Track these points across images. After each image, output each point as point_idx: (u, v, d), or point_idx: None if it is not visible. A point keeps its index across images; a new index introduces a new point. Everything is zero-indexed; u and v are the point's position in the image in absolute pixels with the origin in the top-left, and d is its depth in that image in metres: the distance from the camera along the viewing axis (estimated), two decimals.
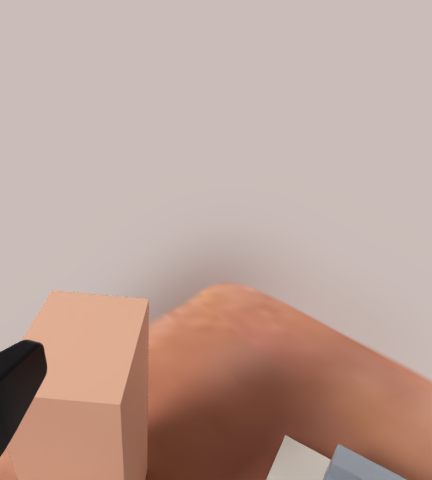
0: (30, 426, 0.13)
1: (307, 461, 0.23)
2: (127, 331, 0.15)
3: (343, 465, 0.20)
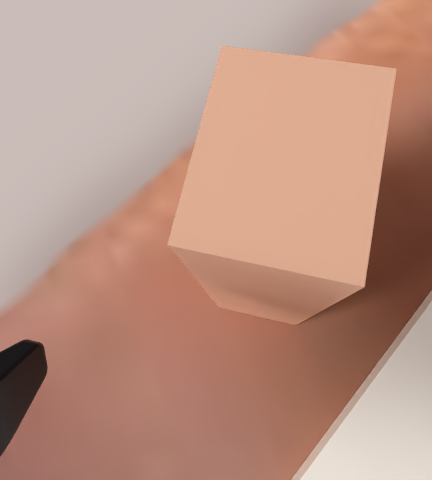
0: (220, 269, 0.10)
1: None
2: (363, 141, 0.08)
3: None
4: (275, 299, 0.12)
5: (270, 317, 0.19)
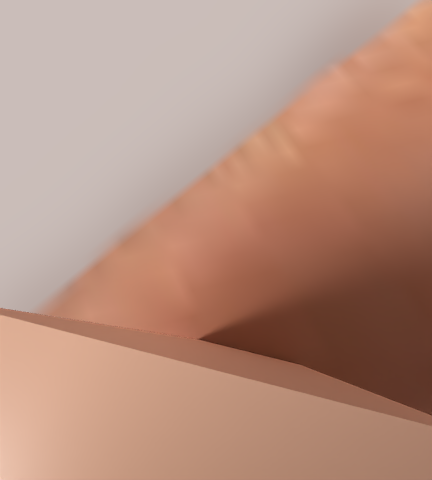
0: None
1: None
2: None
3: None
4: None
5: None
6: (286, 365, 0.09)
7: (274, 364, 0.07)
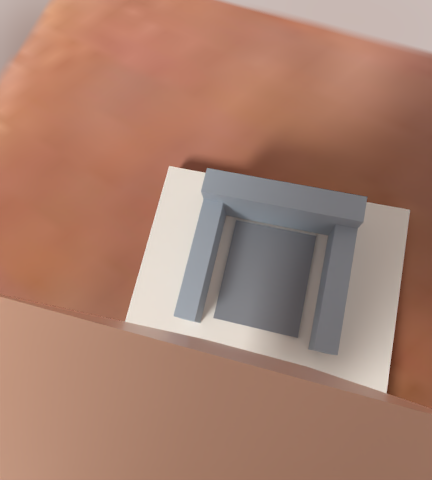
0: None
1: (195, 185, 0.22)
2: None
3: (213, 190, 0.18)
4: None
5: None
6: (293, 365, 0.09)
7: (281, 362, 0.07)
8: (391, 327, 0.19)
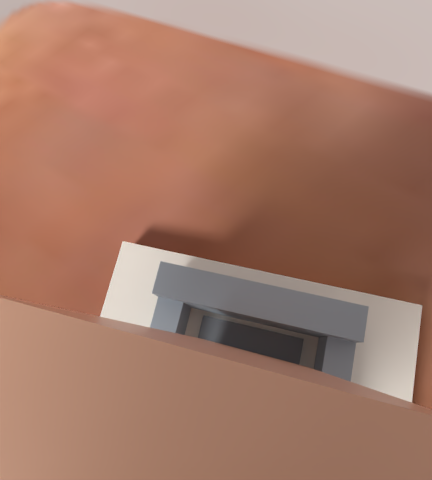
0: None
1: (154, 267, 0.17)
2: None
3: (167, 292, 0.14)
4: None
5: None
6: (293, 365, 0.09)
7: (281, 363, 0.07)
8: None
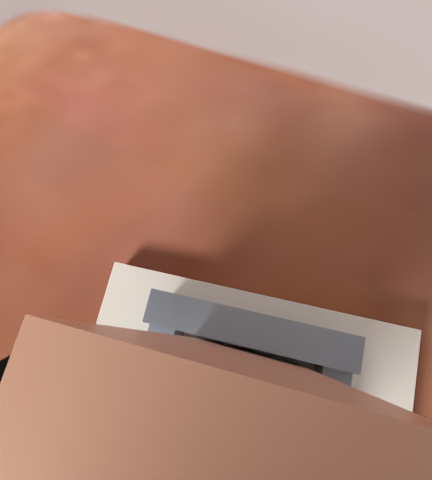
0: None
1: (146, 289, 0.17)
2: None
3: (158, 320, 0.14)
4: None
5: None
6: (293, 368, 0.09)
7: (285, 368, 0.08)
8: None
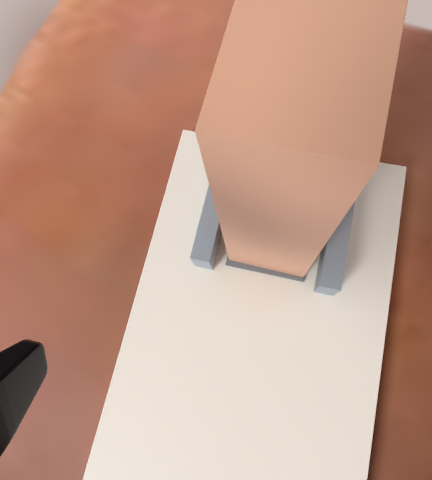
0: (240, 170, 0.10)
1: None
2: (379, 40, 0.09)
3: None
4: (288, 221, 0.13)
5: (279, 266, 0.20)
6: None
7: None
8: (390, 271, 0.21)
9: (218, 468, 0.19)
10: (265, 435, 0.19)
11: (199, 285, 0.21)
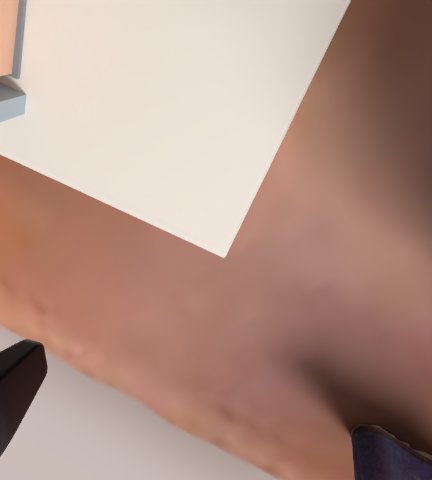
0: None
1: None
2: None
3: None
4: None
5: None
6: None
7: None
8: None
9: (220, 127, 0.18)
10: (193, 66, 0.17)
11: (43, 113, 0.19)
